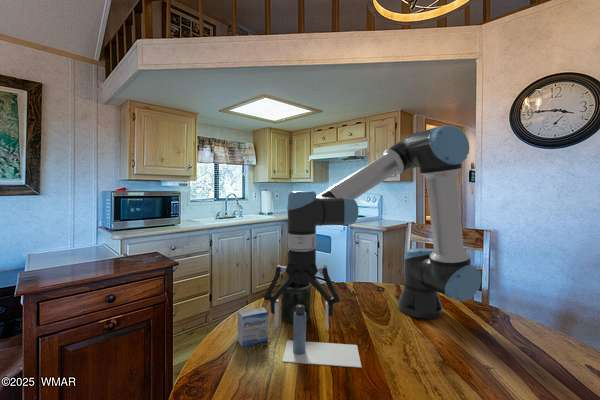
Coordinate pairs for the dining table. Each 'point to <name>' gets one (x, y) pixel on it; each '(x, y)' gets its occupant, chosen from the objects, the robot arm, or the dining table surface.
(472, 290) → the robot arm
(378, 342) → the dining table surface
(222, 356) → the dining table surface
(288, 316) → the mug
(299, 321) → the marker
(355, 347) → the paper
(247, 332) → the medicine box
